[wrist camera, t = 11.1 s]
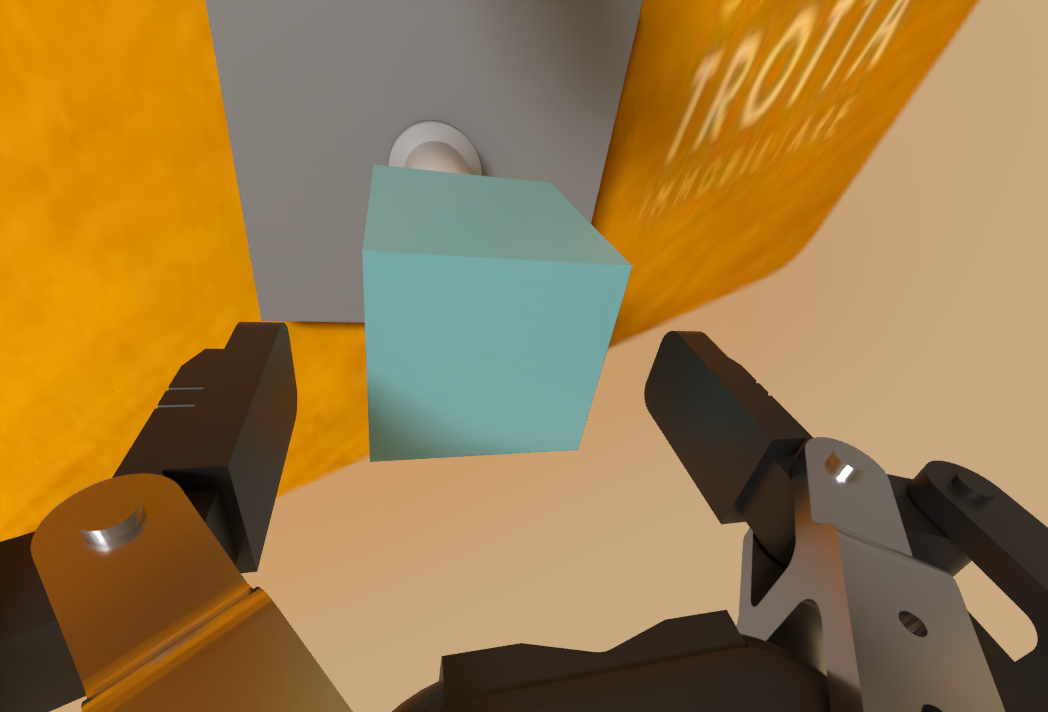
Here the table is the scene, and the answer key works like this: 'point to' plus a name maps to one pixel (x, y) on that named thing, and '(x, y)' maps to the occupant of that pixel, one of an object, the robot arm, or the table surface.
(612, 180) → the table surface
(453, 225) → the teal cube
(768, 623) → the robot arm
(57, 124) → the table surface
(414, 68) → the post stand
